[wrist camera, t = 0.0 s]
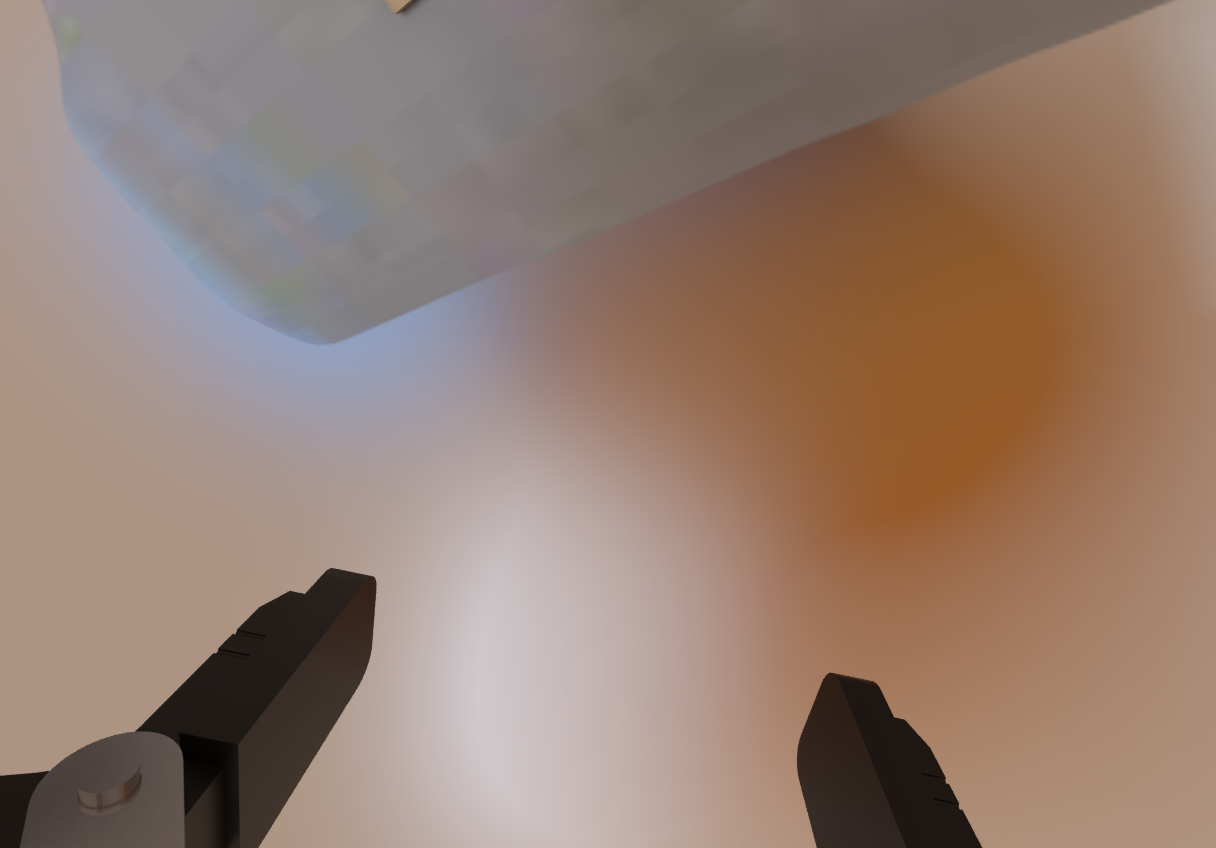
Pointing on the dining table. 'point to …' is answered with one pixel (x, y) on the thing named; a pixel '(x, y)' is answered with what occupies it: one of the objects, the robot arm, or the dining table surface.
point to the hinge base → (398, 5)
